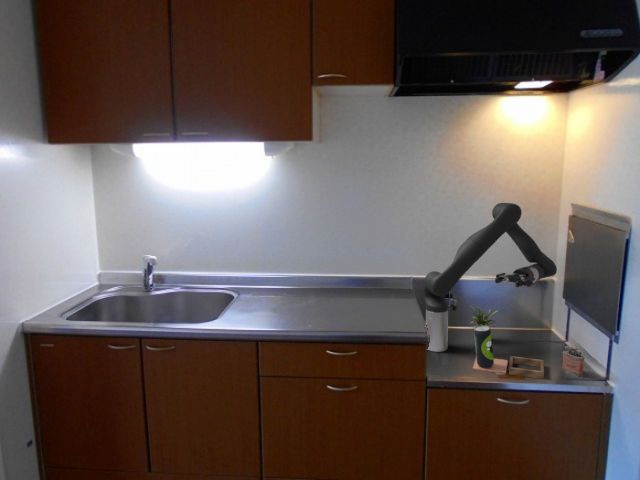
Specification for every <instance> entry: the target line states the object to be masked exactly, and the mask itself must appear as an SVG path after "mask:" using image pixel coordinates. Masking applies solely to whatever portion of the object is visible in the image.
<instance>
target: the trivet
mask: <svg viewBox="0 0 640 480" xmlns="http://www.w3.org/2000/svg"><path fill="white" fill-rule="evenodd" d="M493 359H494V364H493V365H492V366H491V367H487V368H484V367H480V366H479V365H478V364H477V357H476V356H475V359H474V363H473V367H472V369H473V370H475V371H483V372H490V373H497V374H504V375H506V374H507V368H508V361H509V359H508V360H507V359H501V358H494V357H493Z"/></svg>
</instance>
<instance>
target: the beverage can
mask: <svg viewBox="0 0 640 480" xmlns="http://www.w3.org/2000/svg"><path fill="white" fill-rule="evenodd" d="M473 328H474V327H473ZM490 328H491V327H490V326H489V327H488V326H477V327H475V328H474V329H475V330H473V335H474V337H473V338H474V343H475V354H476V355H475V358H476V357H477V364H478V365H479V366H480V367H484V368H487V367H491V366H492V365H493V364H494V359H495V358H494V350H493V341H492V339H493V338H492V330H490ZM493 358H494V359H493Z"/></svg>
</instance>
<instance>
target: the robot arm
mask: <svg viewBox="0 0 640 480" xmlns="http://www.w3.org/2000/svg"><path fill="white" fill-rule="evenodd" d="M491 213H492V214H491V215H492V218H493V220H492V221H491V222H490V223H489V224H488V225H486V226H484V227H483V228H481V229H479V230H477V231H476V232H474V233H473V234H471V235H470V236H468V237H467V239H466V240H465V241H464V242H463V243H462V244H461V245H460V246H459V248H458V249H457V251H456V254H455V256H454V258H453V261H452V262H451V264H450V265H449V266H448V267H447V268H446V269H445V270H444V271H443V272H440V271H436V270H435V271H430V272H428V273H427V274H426V276H425V278H424V280H423V298H424V299H423V300H424V303H425V326H426V325H427V328H428V331H429V335H430V343H429V347H428V349H427V350H428V351H431V352H436V353H437V352H439V353H441V352H445V351H447V350H448V346H449V343H448V340H449V339H448V338H449V334H448V333H449V332H448V331H449V304H448V302H447V300H446V297H445V296H446V295H448V294H449V293H450V292H451V290H452V289H454V287H455V286H456V285H457V283H458V282H459V281H460V279H461V278H463V276H464V275H465V274H466V273H467V272H468V271H469V270H470V268H471V267H473V266H474V264H475V263H477V262H478V261H479V260H480V258H481V257H483V256H484V254H485V253H486V252H487V251H488V250H490V248H491V247H492V246H493V245H494V244H495V243H496V242H497V241H498V240H499V239H500V238H501V237H502V236H503V235H504V234H505V233H506V234H507V235H508V236H509V238H511V240H512V241H513V243H515V245H516V247H518V250H519V251H520V252H521V254H522V255H523V256H524V258H525V260H526V261H527V262H528V263H530V265H526V266H523V267H519V268H516V269H515V270H514V271H512V273H506V272H502V273H498V274H496V275H495V279H494V282H495V284H500V283H505V284H515V287H516V288H520V287H522V288H523V287H527V288H529V287H532V286H534V285H536V284H535V283H536V282H538V281H540V280H542V279H545V278H549V277H553V276H556V274H557V270H558V269H557V265H556V264H555V262H554V261H553V260H552V259H551V258H550V257H548V256H547V255H546V254H545V253H544V252H542V250H541V248H540V247H539V246H538V244H537V242H536V241H535V240H534V239H533V238H532V237H531V236H530V235H529V234H528V233H527V232H526V231H525V230H524V229H523V228H522V227H521V226H520V225H519V223H518V222H519V221H520V219H521V218H522V208H521V206H520V205H518V204H516V203H512V202H499V203H497V204H495V205H494V207H493V208H492V212H491ZM532 263H533V264H532Z"/></svg>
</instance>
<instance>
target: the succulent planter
mask: <svg viewBox="0 0 640 480" xmlns="http://www.w3.org/2000/svg"><path fill="white" fill-rule="evenodd" d="M564 349H565V350H562V367H561V371H562V372H564V373H566V374H568V373H569V374H568V375H570V374H571V375H570V376H573V375H575V376H574V377H576V376H578V377H577V378H584V364H585V363H584V360H585V356H584V355H582V350H580V349H578V348H577V347H572V346H570V345H565V346H564Z"/></svg>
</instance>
